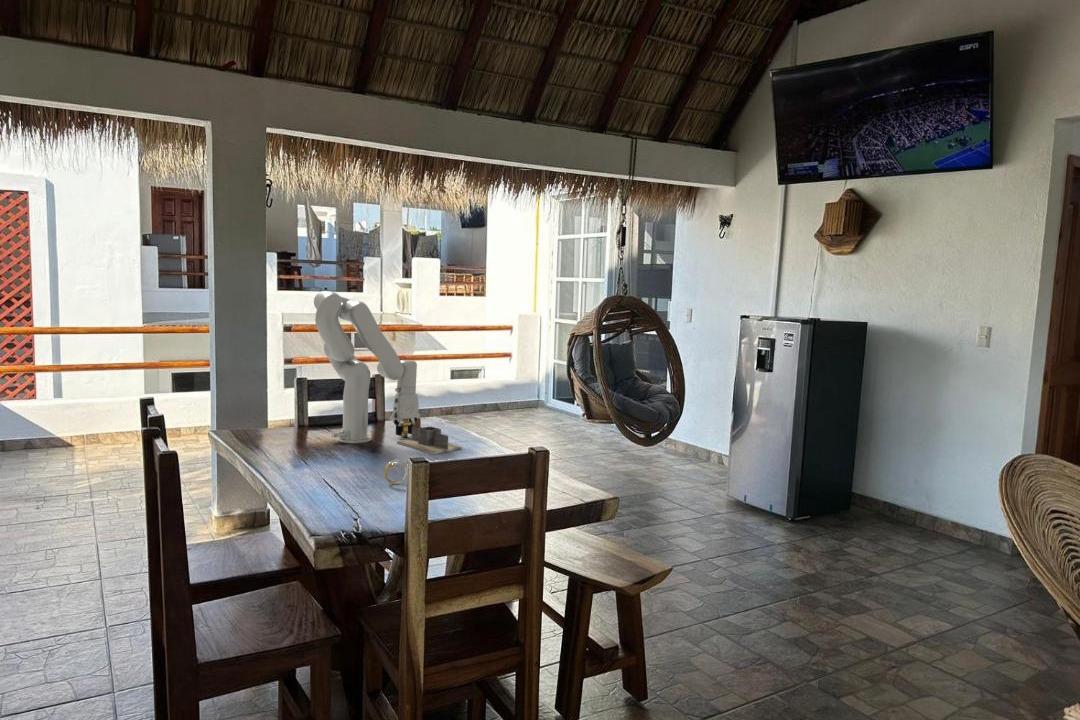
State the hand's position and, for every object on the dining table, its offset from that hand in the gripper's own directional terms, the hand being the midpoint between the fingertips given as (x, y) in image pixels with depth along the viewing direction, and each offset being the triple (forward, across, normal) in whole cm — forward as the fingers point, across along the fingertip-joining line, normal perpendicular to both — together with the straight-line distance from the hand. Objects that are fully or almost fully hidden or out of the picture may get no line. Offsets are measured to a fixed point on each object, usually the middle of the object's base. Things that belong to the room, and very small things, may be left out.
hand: (404, 434), depth 296 cm
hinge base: (+1, -3, -19) cm, 19 cm away
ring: (+2, -45, -54) cm, 70 cm away
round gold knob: (+1, 0, 0) cm, 1 cm away
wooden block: (+1, +13, +14) cm, 19 cm away
